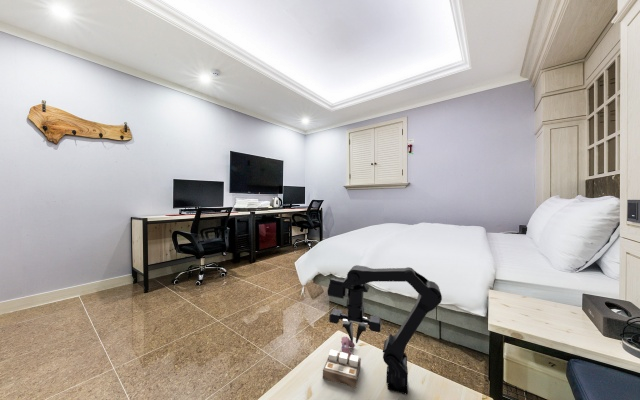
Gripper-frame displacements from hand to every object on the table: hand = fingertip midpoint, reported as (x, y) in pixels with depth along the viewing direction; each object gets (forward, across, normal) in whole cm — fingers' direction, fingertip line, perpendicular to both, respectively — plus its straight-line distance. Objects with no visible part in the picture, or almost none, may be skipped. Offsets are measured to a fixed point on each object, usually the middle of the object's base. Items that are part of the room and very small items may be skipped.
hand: (354, 342), depth 84 cm
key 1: (+9, +8, 0) cm, 12 cm away
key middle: (+9, +4, 0) cm, 9 cm away
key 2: (+8, 0, 0) cm, 8 cm away
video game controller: (+11, +4, -8) cm, 14 cm away
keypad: (+11, +4, +2) cm, 12 cm away
